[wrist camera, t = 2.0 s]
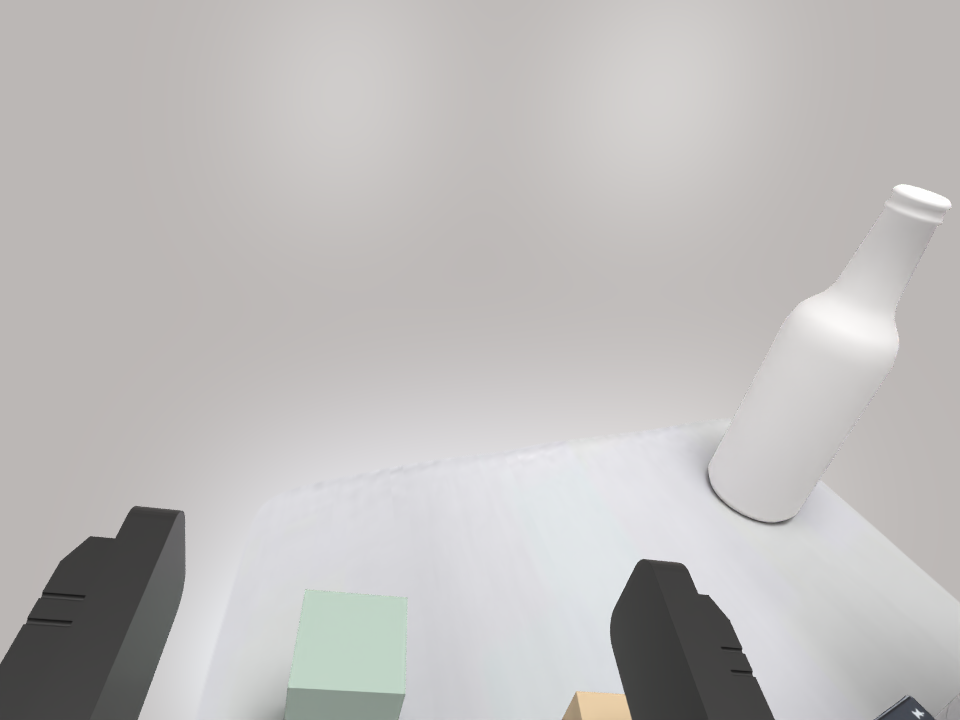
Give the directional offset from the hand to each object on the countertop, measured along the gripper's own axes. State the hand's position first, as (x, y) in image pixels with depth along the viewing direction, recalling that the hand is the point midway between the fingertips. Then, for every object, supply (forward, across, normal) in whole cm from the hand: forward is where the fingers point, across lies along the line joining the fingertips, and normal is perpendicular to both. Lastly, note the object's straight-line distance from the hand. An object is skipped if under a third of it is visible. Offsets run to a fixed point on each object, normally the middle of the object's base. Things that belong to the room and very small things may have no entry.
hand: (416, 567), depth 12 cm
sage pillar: (+11, 0, +28) cm, 30 cm away
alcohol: (+37, -37, +28) cm, 59 cm away
